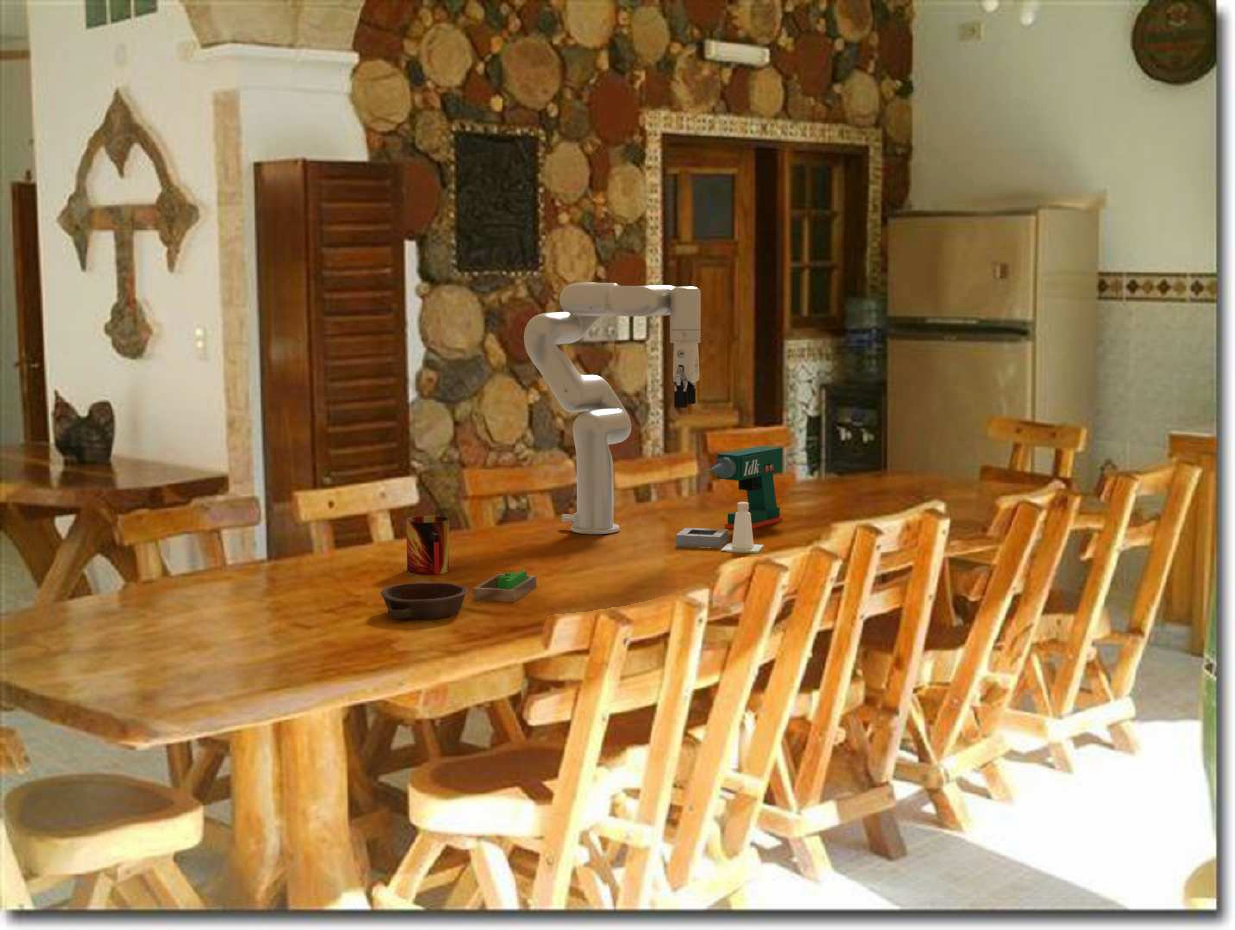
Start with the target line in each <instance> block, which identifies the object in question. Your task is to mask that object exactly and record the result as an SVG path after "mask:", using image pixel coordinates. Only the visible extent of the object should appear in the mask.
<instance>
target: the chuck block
mask: <svg viewBox="0 0 1235 930" xmlns="http://www.w3.org/2000/svg"><path fill="white" fill-rule="evenodd" d="M727 541H728V542H729V528H725V529H721V528H700V527H699V528H698V527H684V528H683V529H682V530H681V531H679V532H678V533H677V534H675V547H676V548H687V547H711V548H720V547H721V548H723V547H724V546H725V545H726V544H727V543H728V542H727ZM726 542H727V543H726ZM725 543H726V544H725ZM724 544H725V545H724ZM723 545H724V546H723ZM721 548H720V549H721Z"/></svg>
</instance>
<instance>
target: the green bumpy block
mask: <svg viewBox="0 0 1235 930" xmlns="http://www.w3.org/2000/svg"><path fill="white" fill-rule="evenodd" d="M504 574H505V577H498V588H497V589H512V588H513V587H515V586H517V585H518V584H520V583H521V582H523V581H524V580H526V579H527V575H528V573H527V570H521V571H519V572H505V573H504Z"/></svg>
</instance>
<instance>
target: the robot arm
mask: <svg viewBox="0 0 1235 930" xmlns="http://www.w3.org/2000/svg"><path fill="white" fill-rule="evenodd" d="M701 295H702V294H701V290H700V288H698V287H696V286H675V285H674V286H673V285H668V284H667V285H666V284H662V285H661V284H660V285H659V284H658V285H619V284H618V283H616V282H595V281H594V282H593V281H592V282H591V281H589V282H573V283H571V284H568V285H566V286H565V287H563V289H562V291H561V292H560V295H559V304H560V306H561V308H562V309H563V311H557V312H556V311H554V312H543V313H540V314H537V315H534V316H533V317H532V318H530V319H529V321H528V322H527V324H526V326H525V328H524V332H523V343H524V348H525V351H526V354H527V356H528V357H529V358H530V361H531V362H532V363H533V365H534V366H535V367H536V369H537V370H538V371H539V373H540V374H541V376H542V377H543V379H544V381H545V383H546V385H547V386H548V388H549V389H550V390H551V392H552V393H553V396H554V398H556V400H557V402H558V403H559V405H560V406H561V408H562V409H563V410H564V411H566V412H568V413H573V414H574V413H575V414H576V413H579V415H578V416H577V417H576V418H575V420H574V421H573V424H572V425H573V426H572V436H573V442H574V446H575V455H576V458H575V459H576V512H575V513H573V514H569V513H568V514H566V513H563V514H561V522H563V523H572V525H571V526H570V529H571V532H573V533H575V534H576V533H577V534H584V535H603V534H604V535H606V534H607V535H609V534H613V533H617V532H619V531H620V526H619V525H618V524H616V523H614V519H615V518H614V461H613V456H612V453H611V449H610V446H609V445H615V444H618V443H622V442H624V441H626V440H627V439H628V438H629V437H630V435H631V432H632V422H631V420H632V419H631V418H630V416H629V414H628V411H627V409H625V406H624V405H623V404H622V402H621V401H620V399H619V397H618V395H616V392H615V391H614V390H613V388H612V386H611V385H610V383H608V382H607V380H605V379H604V378H603V377H602V376H599V375H597V374H582V373H580V372H579V370H578V369H577V368H576V366H575V365H574V364H573V361H572V359H571V358H569V356H568V355H567V354H566V353H565V352H564V351H562V350H561V349H560V348H559V347H558V345H568V344H569V345H570V344H573V343H576V342H578V341H580V340H581V339H582V338H583V337H584V336H585V335H586V334H587V333H588V332H589V331H590V329H591V328H592V327H593V326H594V325H595V324H596V323H597V322H598V321H599V319H600V318H601V317H614V318H615V317H656V316H658V317H660V316H670V317H669V322H670V324H669V326H670V327H669V333H670V334H669V342H670V343H671V344H673V355H672V356H673V358H672V359H673V360H672V361H673V362H672V364H673V366H672V368H673V369H672V378H673V382H674V392H673V393H674V395H673V396H674V397H673V398H674V401H673V402H674V408H677V409H679V408H681V409H682V408H688V405H695V404H696V401H697V399H696V398H697V397H696V396H697V395H696V394H697V392H696V391H697V388H696V386H697V385H696V382H698V381H700V377H701V376H700V355H699V351H700V350H699V345H698V344H700V343H701V326H702V325H701V324H702V323H701V319H702V318H701V315H702V313H701V309H702V308H701V305H702V303H701V299H702V298H701V297H702V296H701Z"/></svg>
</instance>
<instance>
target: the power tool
mask: <svg viewBox="0 0 1235 930" xmlns="http://www.w3.org/2000/svg"><path fill="white" fill-rule="evenodd" d="M716 458H717V459H716V461H715V462H714V466H712V467H711V468H710V469H708V470H706V472H707V473H708V472H709V473H714V474H716V479H717V480H718V479H719V480H729V481H738V490H741V491H746V497H747V503H749V505H748V512H750V514H751V524H752V529H756V528H759V527H763V525H764V526H768V525H772V524H776V523H779V522H783V516H780V515H781V506H777V505H778V503H777V496H776V490H775V480H774V474H776V473H777V474H778V473H782V472H783V447H779V446H765V445H759V446H753V447H748V448H743V449H738V450H731V451H727V452H719V453H717V454H716ZM737 512H738V510H737V511H733V512H728V513H727V522H725V523H724V528H725V529H731V528H734V522H735V514H736V513H737ZM775 522H776V523H775ZM771 523H772V524H771ZM767 524H768V525H767Z"/></svg>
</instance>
